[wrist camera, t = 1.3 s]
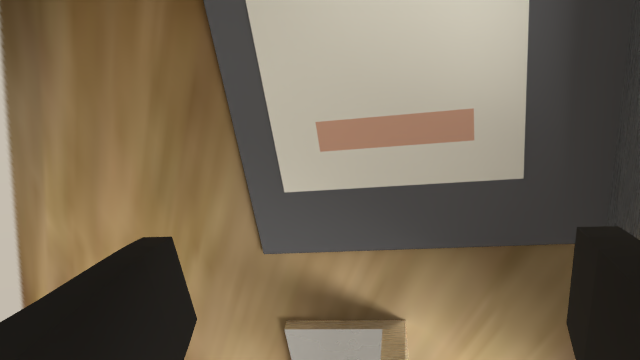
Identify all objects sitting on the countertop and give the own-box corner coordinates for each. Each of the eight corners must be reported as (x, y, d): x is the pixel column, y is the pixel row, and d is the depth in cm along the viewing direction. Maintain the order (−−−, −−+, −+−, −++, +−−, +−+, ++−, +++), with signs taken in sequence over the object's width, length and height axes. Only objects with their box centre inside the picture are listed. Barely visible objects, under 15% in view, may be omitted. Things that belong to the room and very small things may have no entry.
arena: (646, 237, 19) (686, 294, 17) (265, 251, 22) (244, 300, 20) (740, -351, 12) (840, -429, 9) (155, -213, 15) (97, -240, 12)
